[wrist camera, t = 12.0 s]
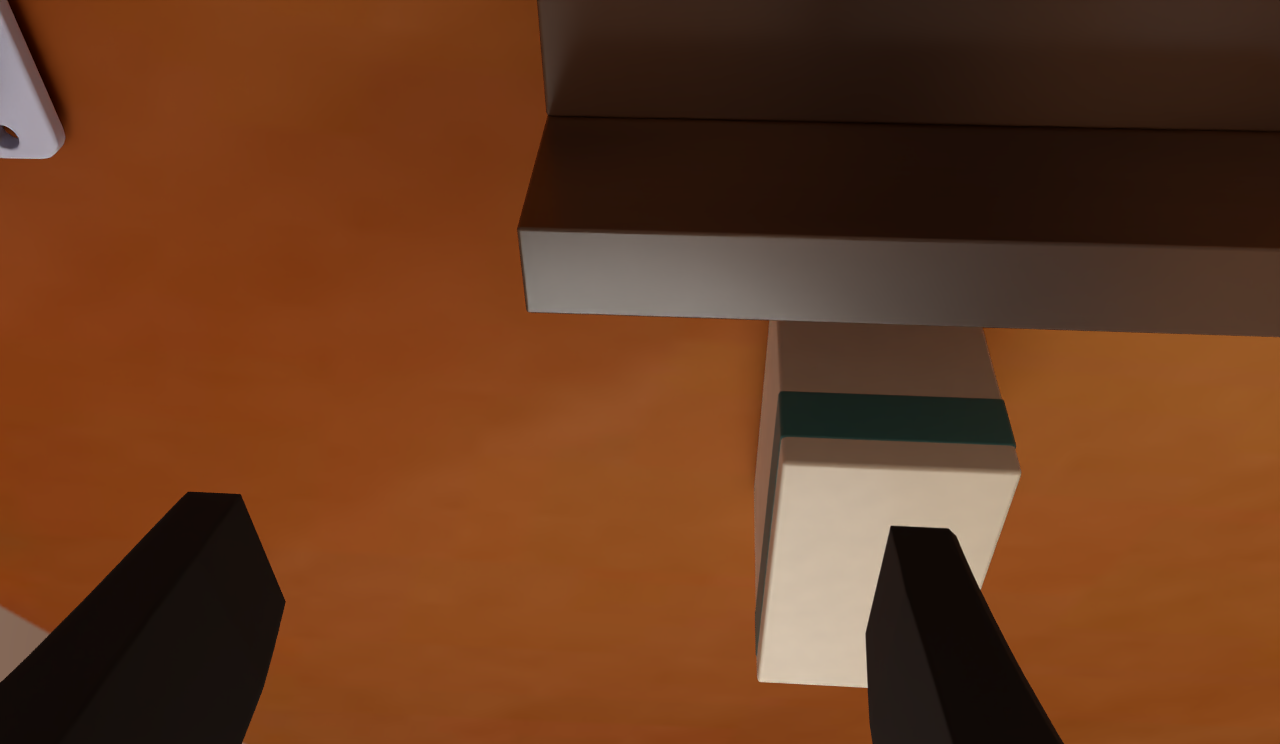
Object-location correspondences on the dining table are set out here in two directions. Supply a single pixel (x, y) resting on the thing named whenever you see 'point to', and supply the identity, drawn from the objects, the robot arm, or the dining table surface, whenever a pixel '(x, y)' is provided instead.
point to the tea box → (866, 477)
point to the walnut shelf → (911, 163)
